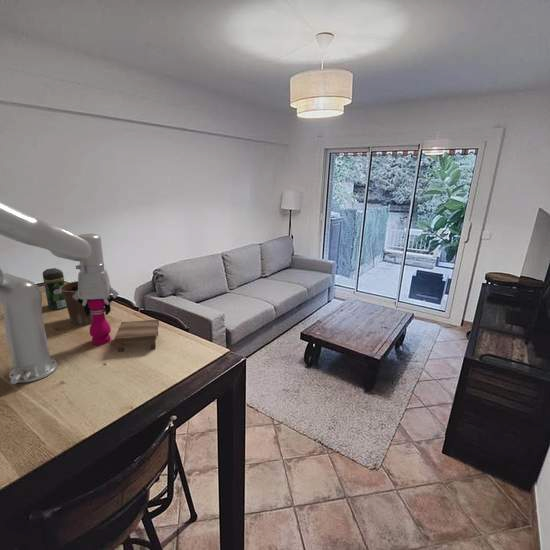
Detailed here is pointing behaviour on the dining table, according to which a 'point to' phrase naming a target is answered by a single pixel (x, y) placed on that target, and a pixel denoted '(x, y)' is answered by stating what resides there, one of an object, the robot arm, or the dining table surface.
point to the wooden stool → (137, 333)
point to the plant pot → (74, 305)
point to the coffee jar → (54, 288)
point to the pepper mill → (99, 322)
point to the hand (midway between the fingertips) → (98, 313)
